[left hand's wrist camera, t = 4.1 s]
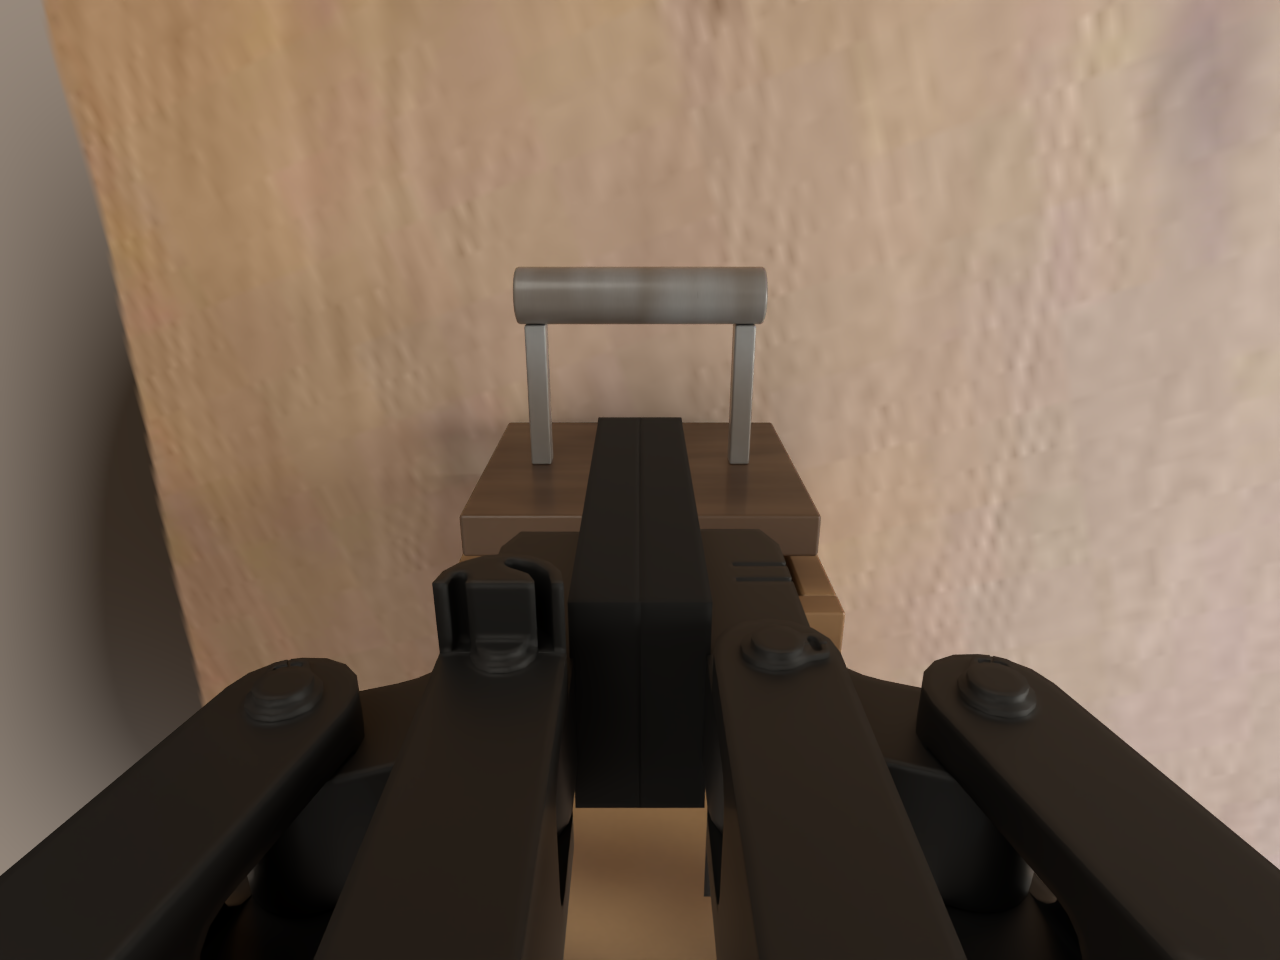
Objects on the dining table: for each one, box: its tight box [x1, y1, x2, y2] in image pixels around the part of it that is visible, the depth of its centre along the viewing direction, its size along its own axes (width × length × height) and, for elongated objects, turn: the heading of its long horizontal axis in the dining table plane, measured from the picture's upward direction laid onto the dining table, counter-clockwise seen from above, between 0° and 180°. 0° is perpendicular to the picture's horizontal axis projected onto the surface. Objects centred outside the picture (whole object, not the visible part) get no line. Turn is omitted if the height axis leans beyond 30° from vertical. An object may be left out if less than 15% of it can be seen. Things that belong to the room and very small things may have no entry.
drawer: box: [460, 267, 821, 556], centre depth 26 cm, size 21×9×8 cm, turn 0°
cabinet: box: [439, 554, 845, 960], centre depth 28 cm, size 16×11×10 cm, turn 0°
